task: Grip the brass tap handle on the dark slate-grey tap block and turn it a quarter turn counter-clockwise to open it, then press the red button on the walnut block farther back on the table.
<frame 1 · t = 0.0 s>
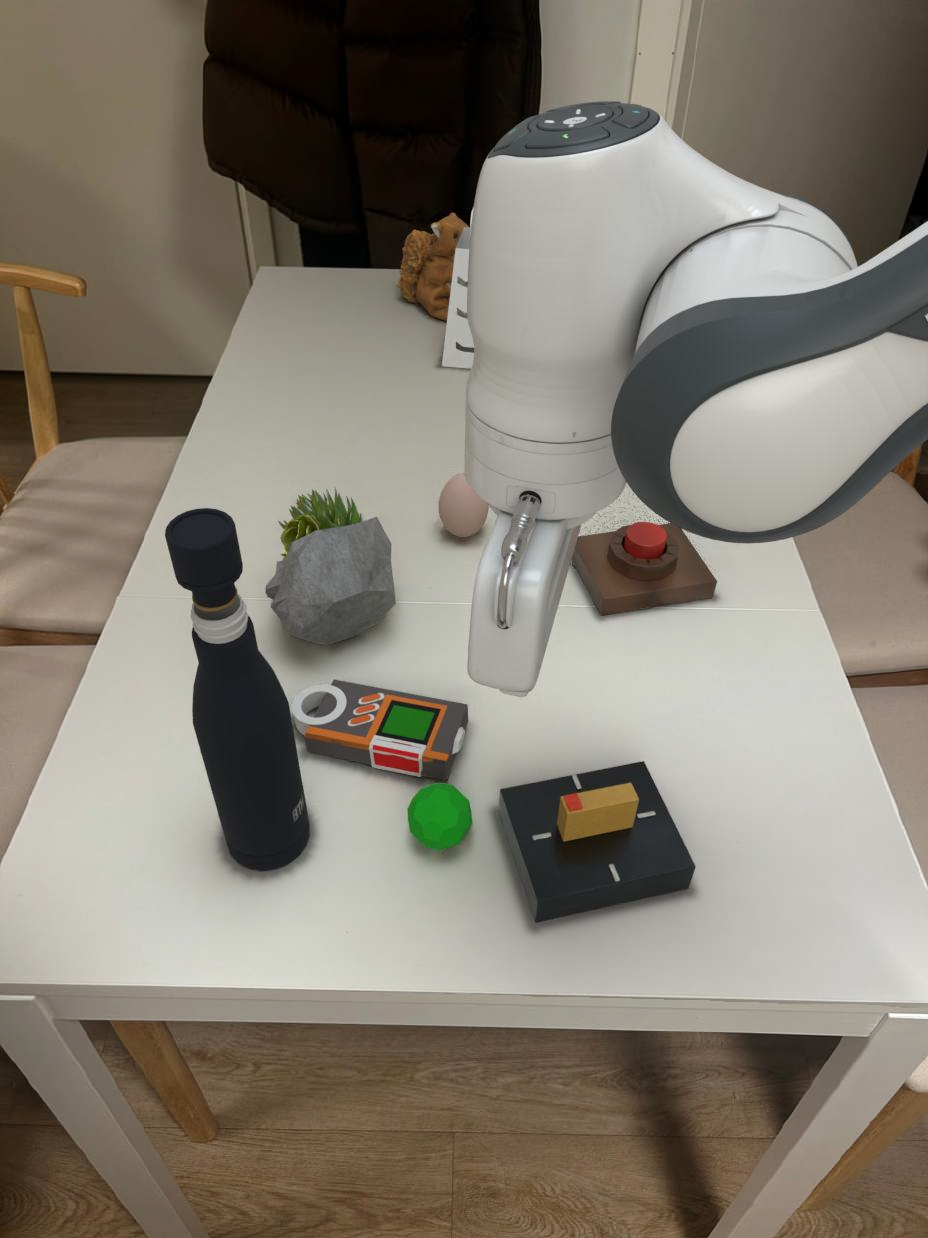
hand: (531, 634, 59), 21 cm above the table, tool pointing down, fingers open, 8 cm apart
stuffed squirrel: (437, 304, 144), on the table
tap block: (590, 849, 72), on the table
button block: (638, 575, 96), on the table
electronic device: (377, 737, 80), on the table
button: (645, 540, 93), point 5 cm above the table, slide at 0.1 cm
egg: (463, 534, 101), on the table
potted plant: (327, 611, 92), on the table
tap handle: (597, 811, 69), point 5 cm above the table, hinge at 0.0°
grater: (484, 352, 132), on the table
insulated water bottle: (269, 836, 73), on the table
polyhedron: (440, 835, 73), on the table
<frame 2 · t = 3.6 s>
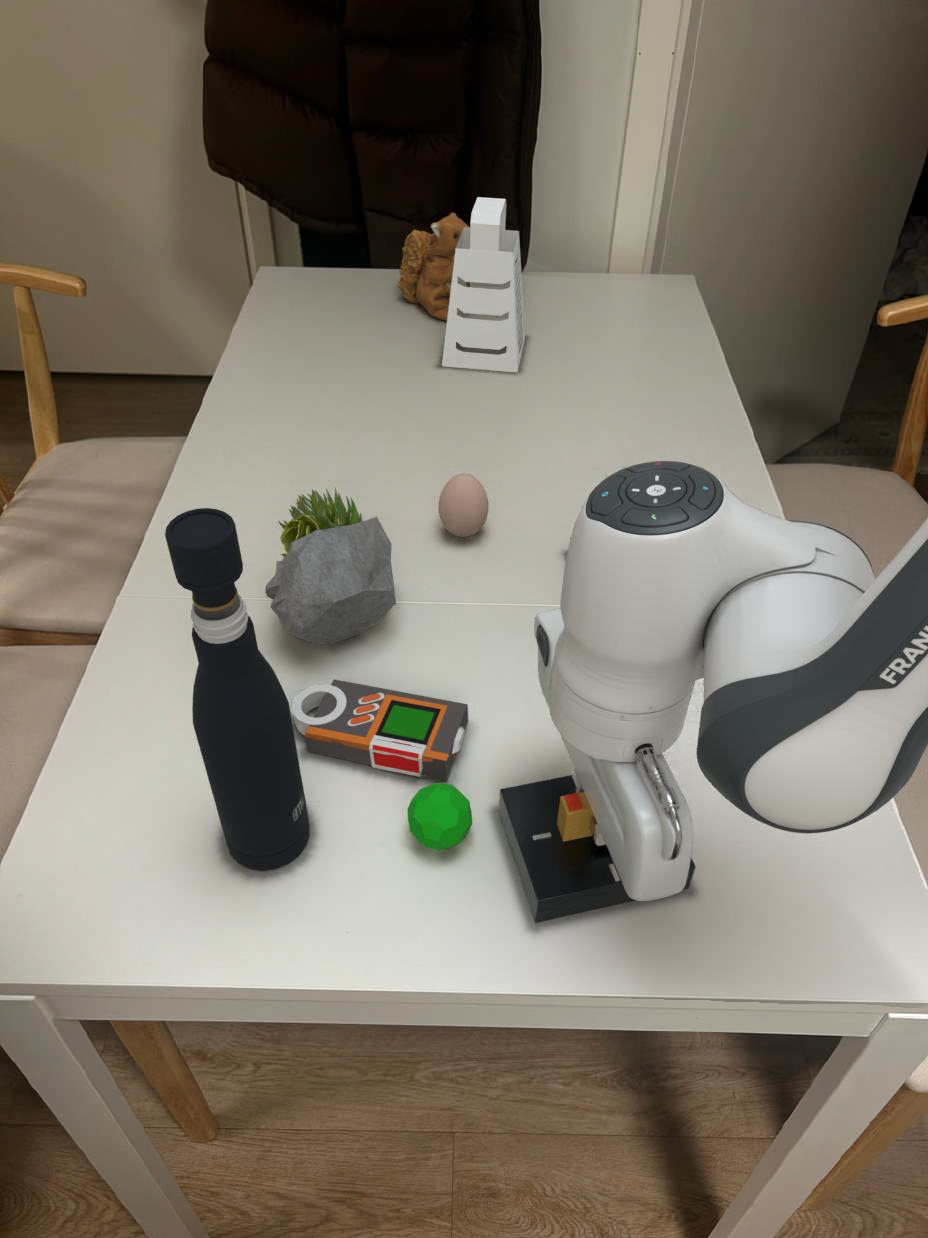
hand: (596, 819, 70), 4 cm above the table, tool pointing down, fingers closed on tap handle, 2 cm apart
tap handle: (597, 811, 69), point 5 cm above the table, hinge at 0.0°, touching gripper
everything else where it was.
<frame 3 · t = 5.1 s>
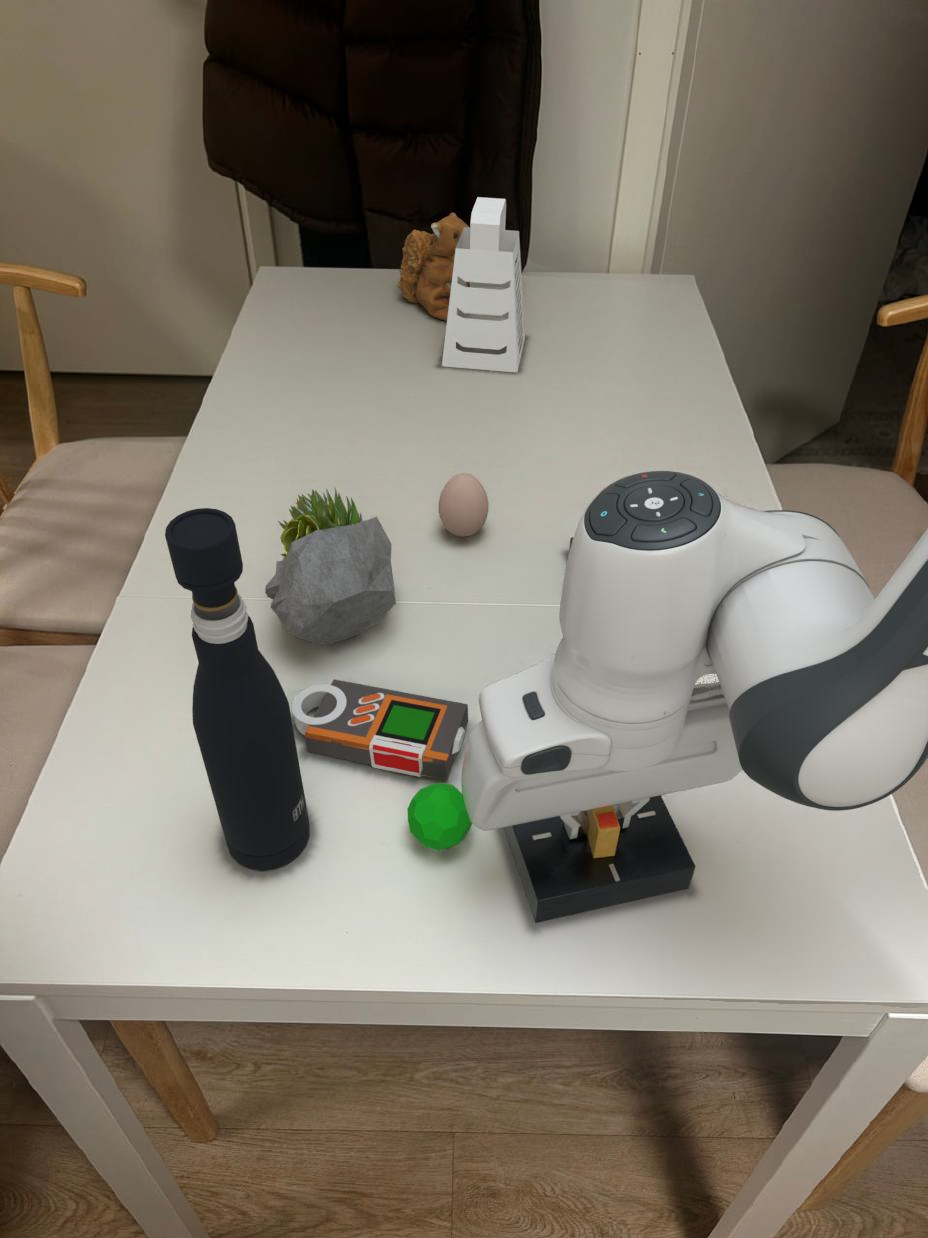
hand: (595, 826, 70), 3 cm above the table, tool pointing down, fingers closed on tap handle, 2 cm apart
tap handle: (597, 811, 69), point 5 cm above the table, hinge at 84.7°, touching gripper
everything else where it was.
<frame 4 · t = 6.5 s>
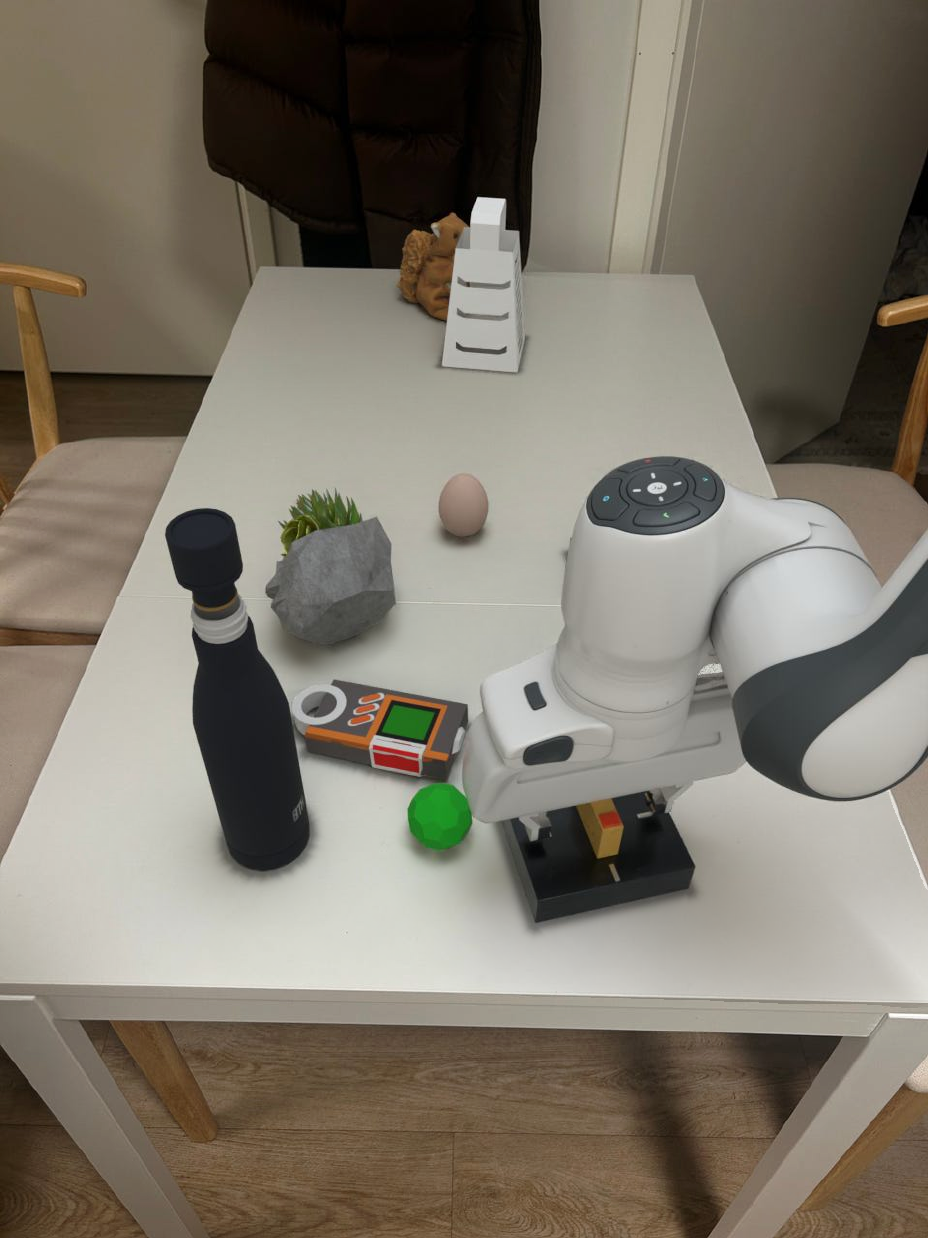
hand: (597, 819, 69), 4 cm above the table, tool pointing down, fingers open, 8 cm apart
tap handle: (597, 811, 69), point 5 cm above the table, hinge at 90.1°
everything else where it was.
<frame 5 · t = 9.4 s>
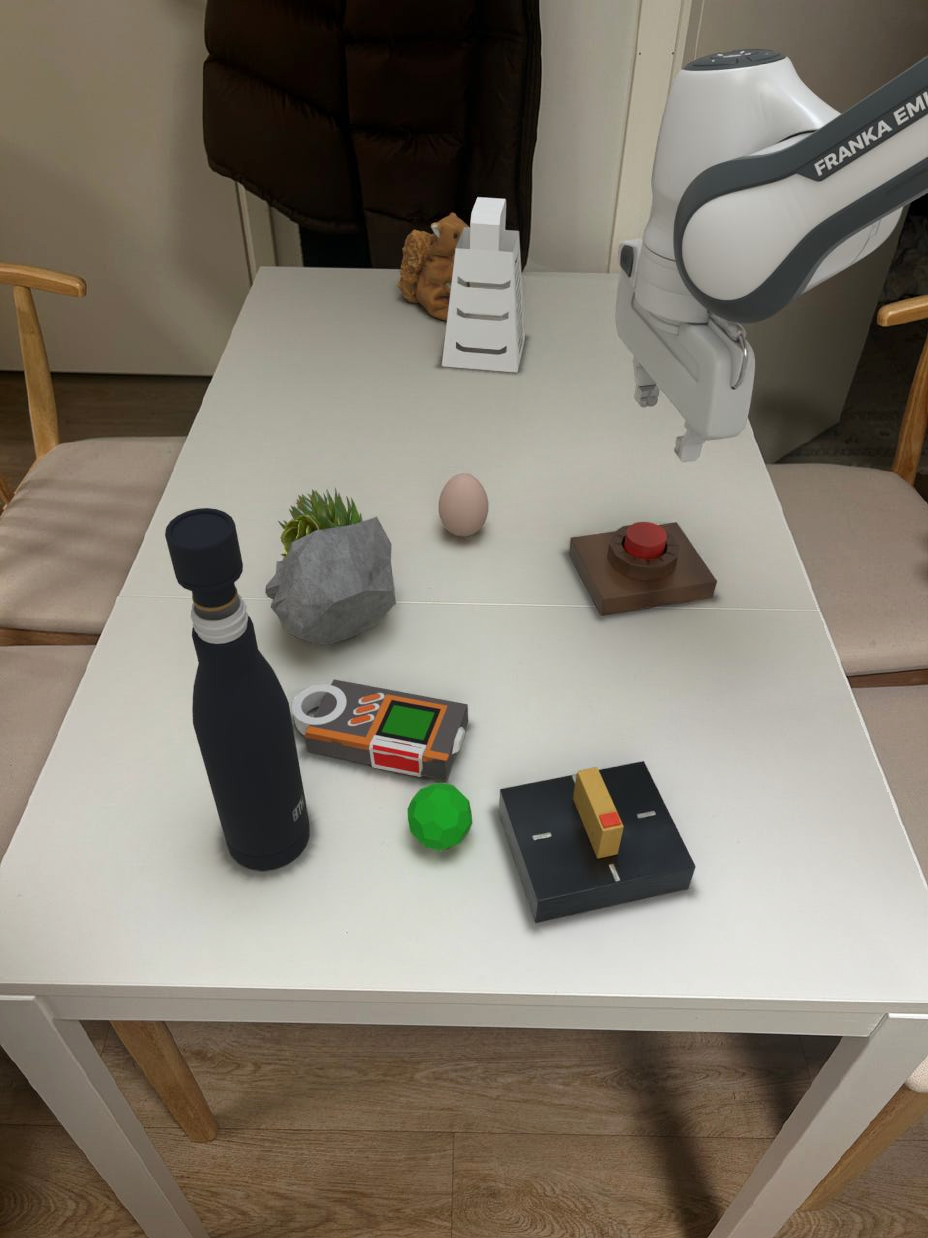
hand: (664, 429, 85), 17 cm above the table, tool pointing down, fingers open, 8 cm apart
nothing on the table moved.
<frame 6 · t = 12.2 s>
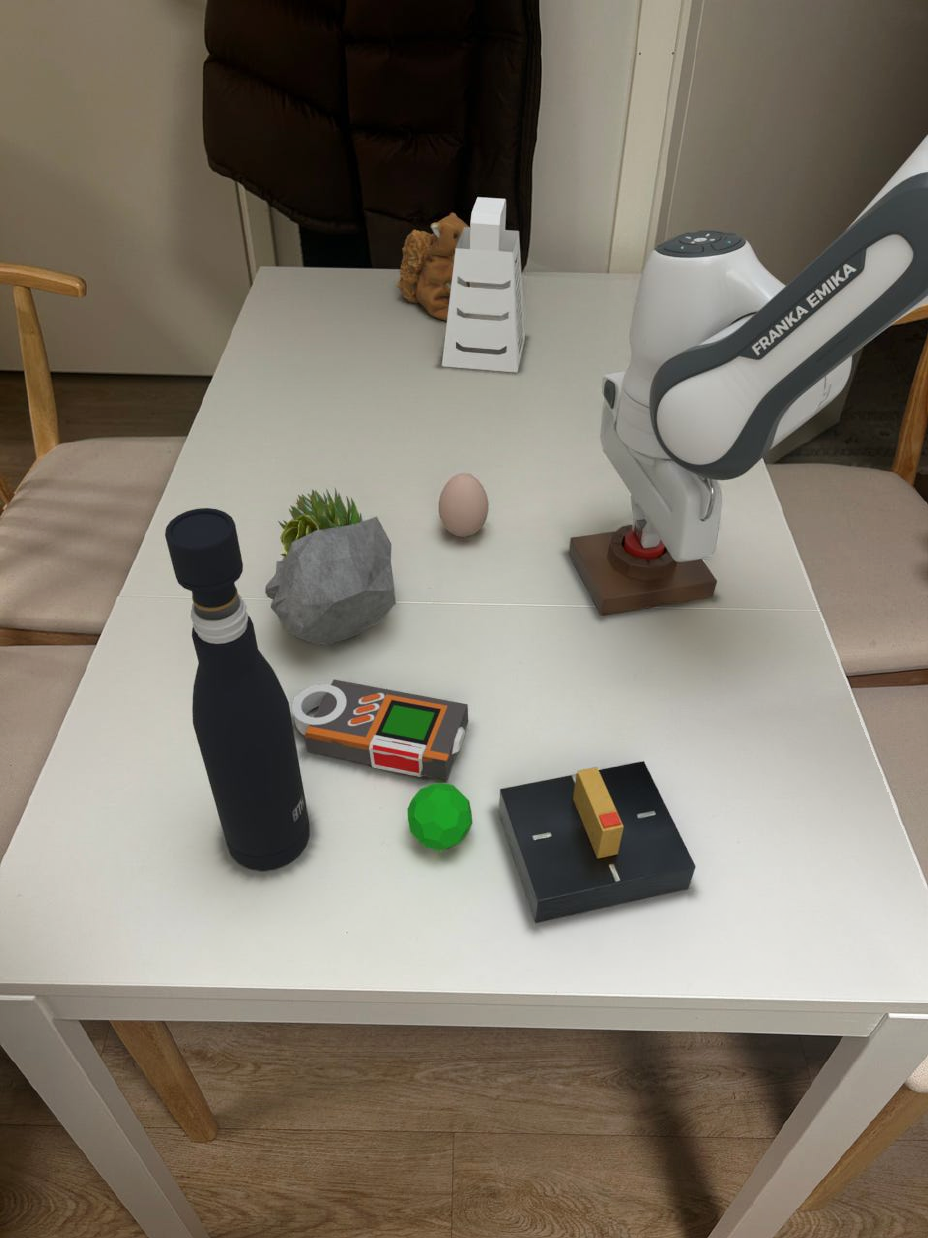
hand: (644, 538, 93), 5 cm above the table, tool pointing down, fingers closed, pressing on button
button: (644, 546, 94), point 4 cm above the table, slide at -0.6 cm, touching gripper
everything else where it was.
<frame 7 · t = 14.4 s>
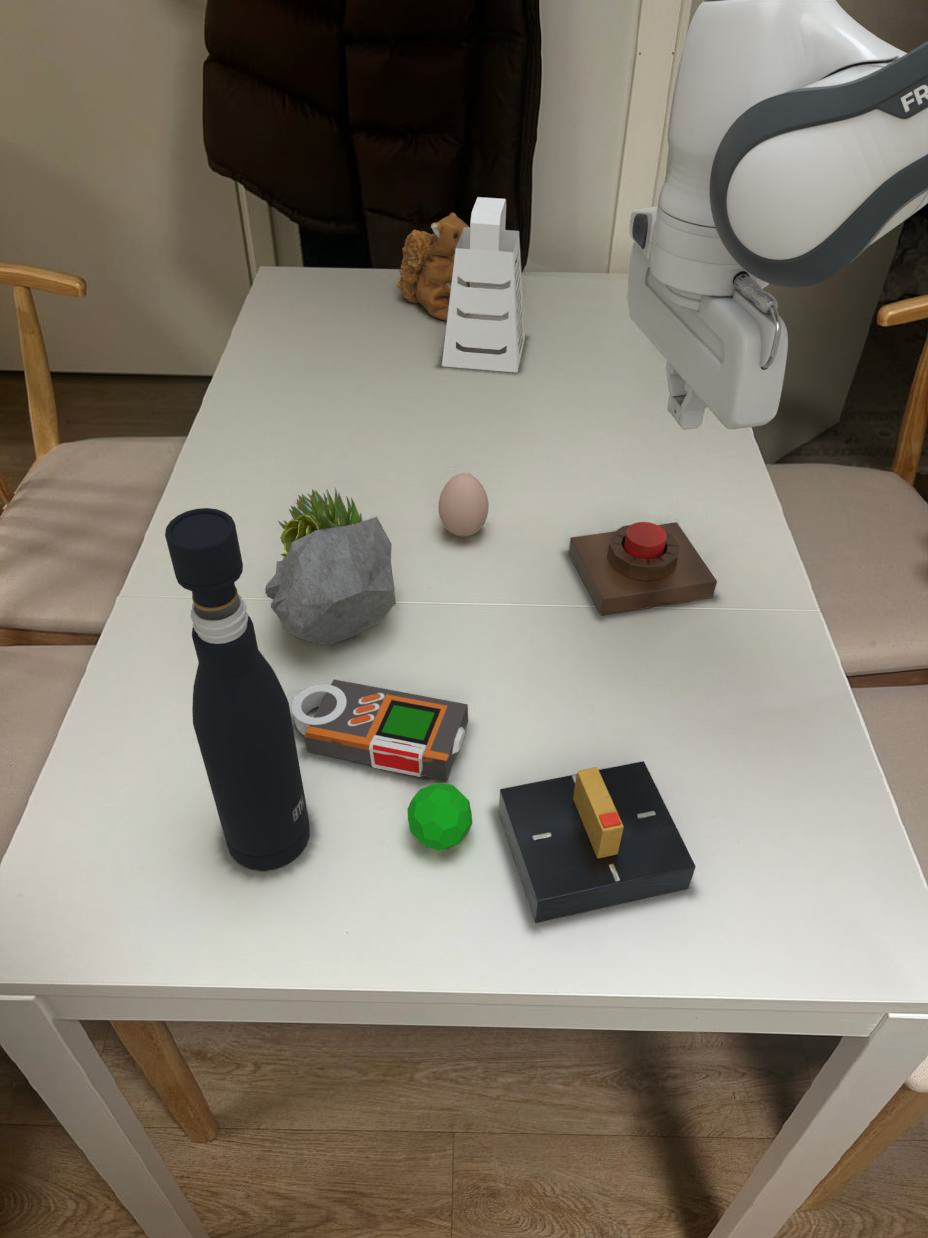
hand: (683, 420, 76), 22 cm above the table, tool pointing down, fingers closed
button: (645, 540, 93), point 5 cm above the table, slide at 0.1 cm
everything else where it was.
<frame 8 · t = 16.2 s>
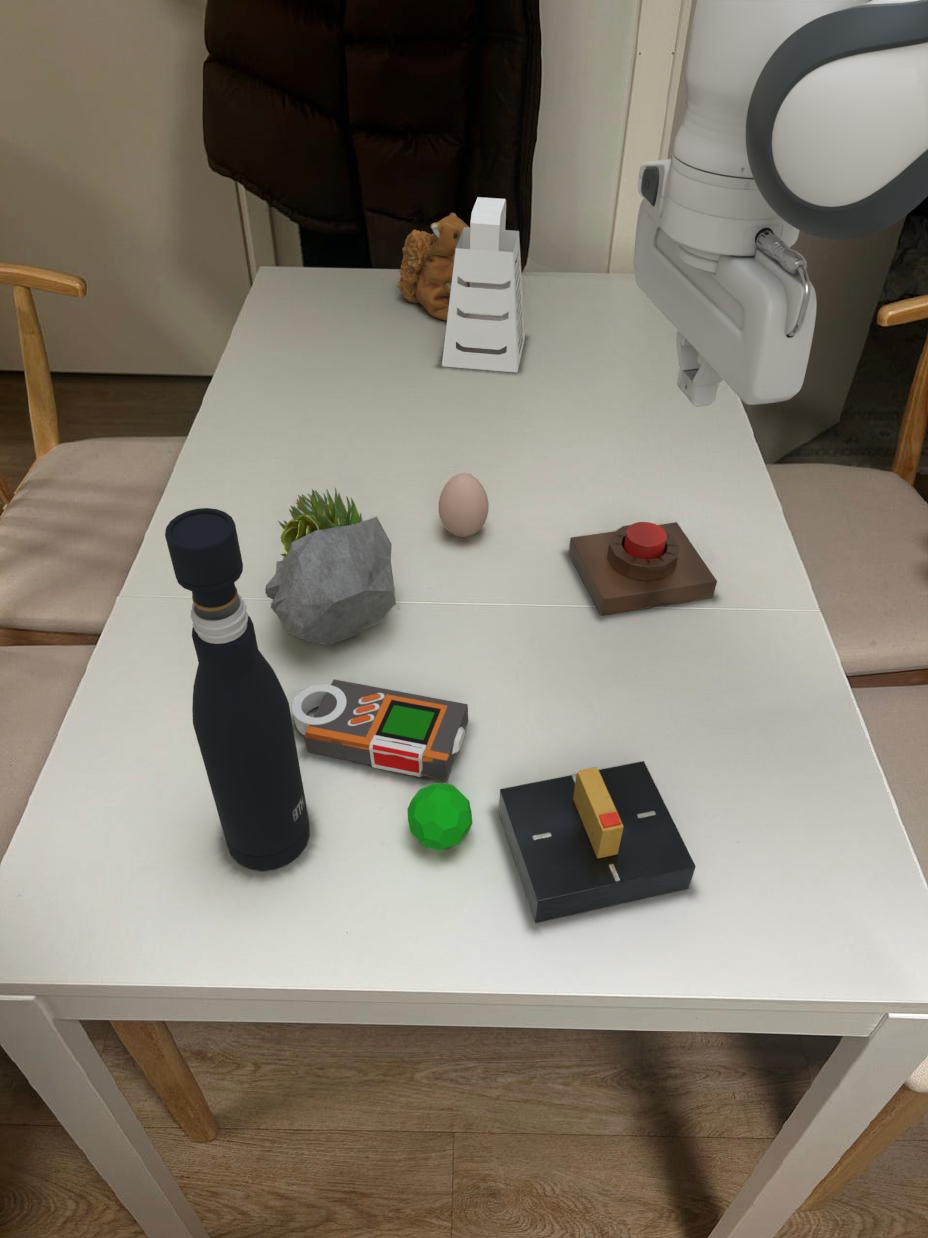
hand: (694, 396, 70), 27 cm above the table, tool pointing down, fingers closed
nothing on the table moved.
at the end: tap handle at +90° (first picture: +0°); button pushed in 1.0 cm at the most during the clip, back to where it started at the end; button slide at 0.1 cm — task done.
